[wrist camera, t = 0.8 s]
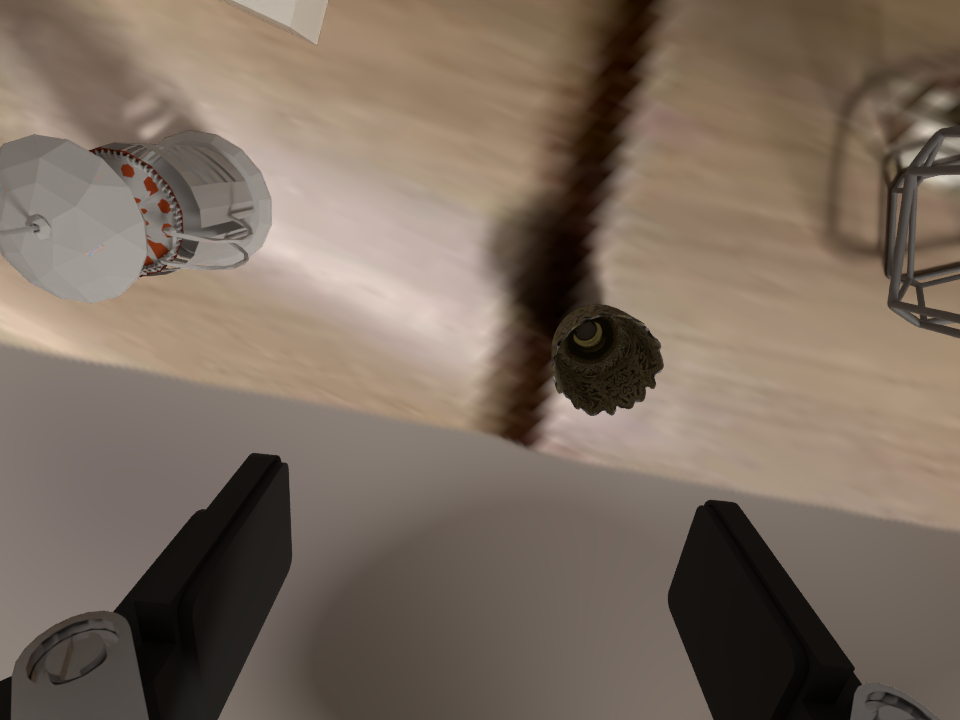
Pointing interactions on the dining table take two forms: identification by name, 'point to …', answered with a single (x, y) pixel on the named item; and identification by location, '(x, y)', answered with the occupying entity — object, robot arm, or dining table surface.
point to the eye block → (288, 15)
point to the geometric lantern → (908, 217)
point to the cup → (604, 360)
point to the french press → (127, 211)
